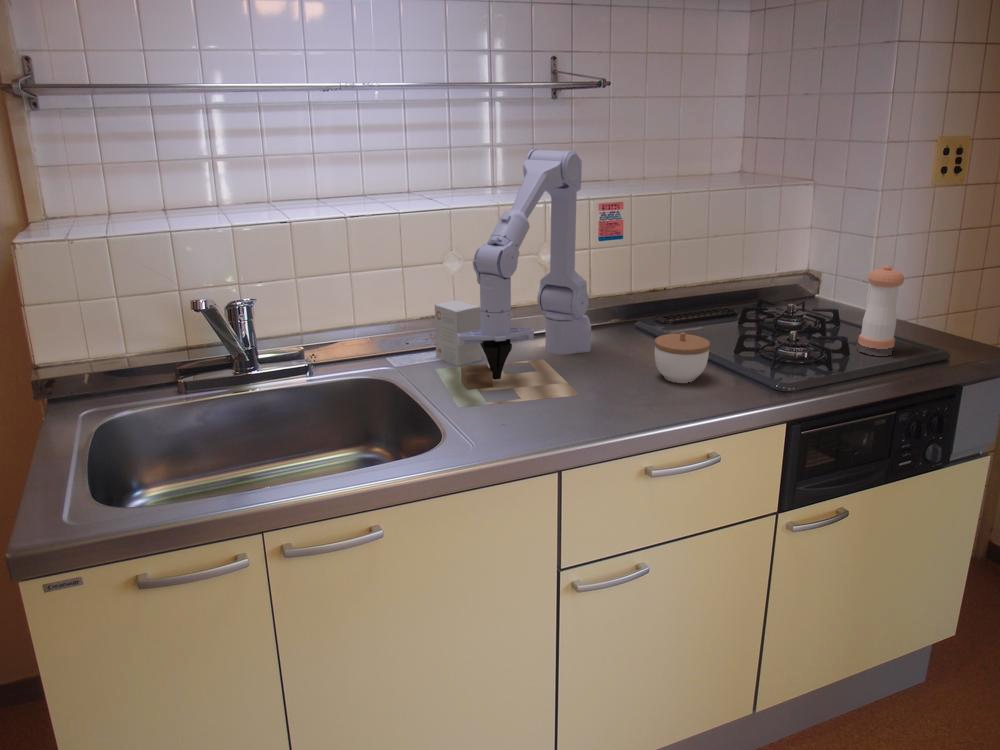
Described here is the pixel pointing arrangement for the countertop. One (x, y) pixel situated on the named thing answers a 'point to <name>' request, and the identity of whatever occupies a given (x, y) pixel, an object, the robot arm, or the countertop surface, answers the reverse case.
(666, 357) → the lidded jar
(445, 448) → the countertop surface
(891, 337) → the pepper shaker
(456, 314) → the small box
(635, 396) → the countertop surface
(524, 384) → the board
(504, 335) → the robot arm
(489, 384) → the block
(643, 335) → the countertop surface
